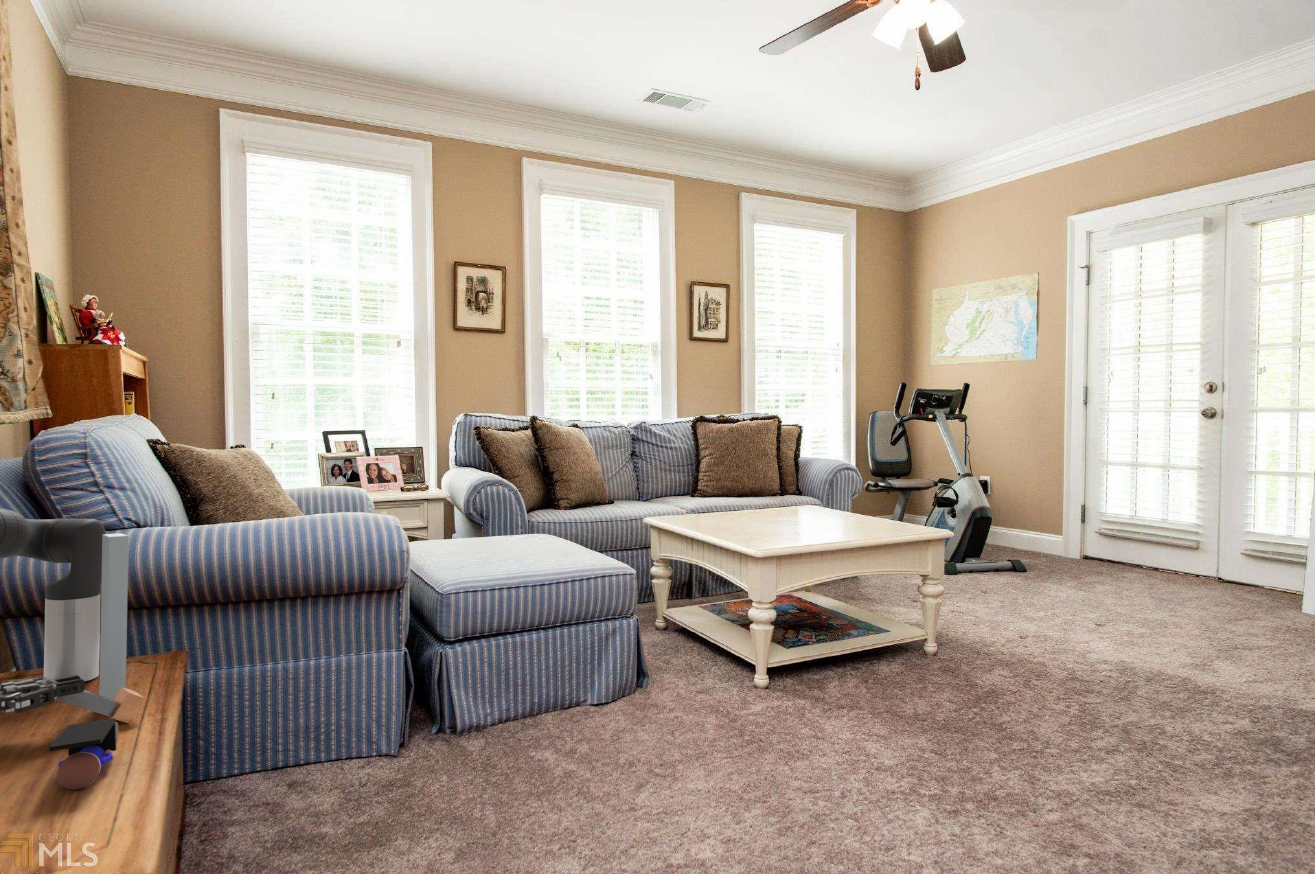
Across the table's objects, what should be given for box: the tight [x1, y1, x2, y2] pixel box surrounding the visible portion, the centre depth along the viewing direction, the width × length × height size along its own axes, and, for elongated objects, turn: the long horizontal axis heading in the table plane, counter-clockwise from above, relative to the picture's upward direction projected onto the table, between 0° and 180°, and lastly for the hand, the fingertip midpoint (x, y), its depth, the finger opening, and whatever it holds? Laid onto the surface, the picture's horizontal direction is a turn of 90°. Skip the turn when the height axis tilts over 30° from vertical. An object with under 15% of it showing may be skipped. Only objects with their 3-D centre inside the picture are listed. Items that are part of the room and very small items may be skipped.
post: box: [99, 532, 130, 700], centre depth 148 cm, size 7×5×32 cm
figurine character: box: [48, 718, 119, 790], centre depth 118 cm, size 7×8×15 cm
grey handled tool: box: [39, 676, 145, 724], centre depth 136 cm, size 5×15×5 cm
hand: (81, 683), depth 135 cm, fingers closed on grey handled tool, 2 cm apart
